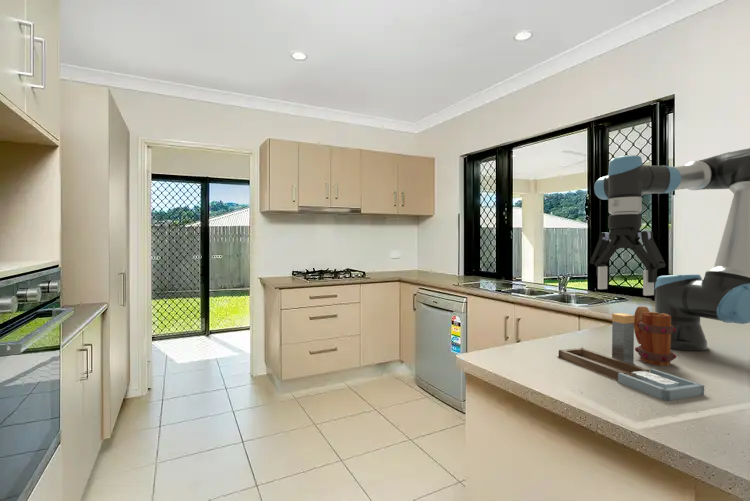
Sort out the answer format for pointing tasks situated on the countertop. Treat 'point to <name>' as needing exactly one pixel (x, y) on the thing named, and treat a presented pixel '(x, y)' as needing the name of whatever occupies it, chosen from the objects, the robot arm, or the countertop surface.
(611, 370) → the slot board
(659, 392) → the tray
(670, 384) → the chip
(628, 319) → the grey and tan block
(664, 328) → the mug
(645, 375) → the chip
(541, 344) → the countertop surface
